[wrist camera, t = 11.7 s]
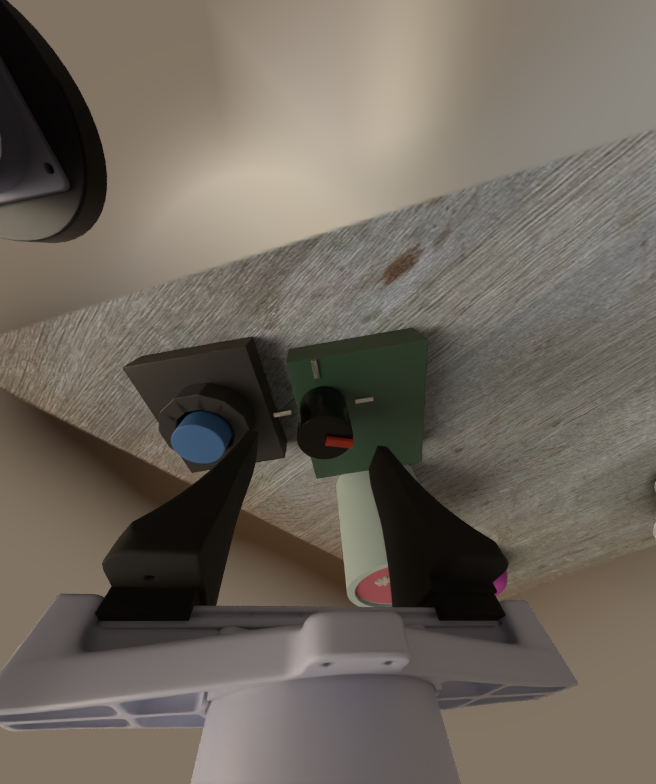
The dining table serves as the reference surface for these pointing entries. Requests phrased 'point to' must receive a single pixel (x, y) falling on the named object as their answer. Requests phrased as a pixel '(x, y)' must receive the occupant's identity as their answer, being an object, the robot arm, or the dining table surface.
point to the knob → (324, 424)
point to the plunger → (202, 437)
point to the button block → (211, 393)
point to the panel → (368, 393)
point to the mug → (363, 541)
